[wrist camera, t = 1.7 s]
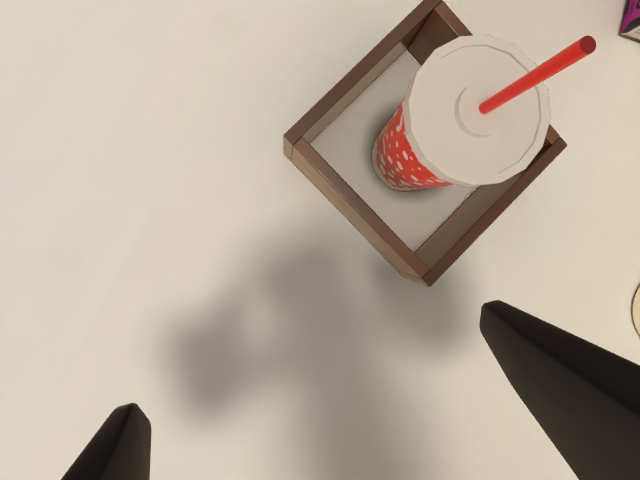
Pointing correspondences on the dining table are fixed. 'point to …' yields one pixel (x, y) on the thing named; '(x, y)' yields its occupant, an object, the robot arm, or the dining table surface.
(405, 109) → the beverage cup
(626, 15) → the candy bar box
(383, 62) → the crate
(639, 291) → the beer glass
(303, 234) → the dining table surface
